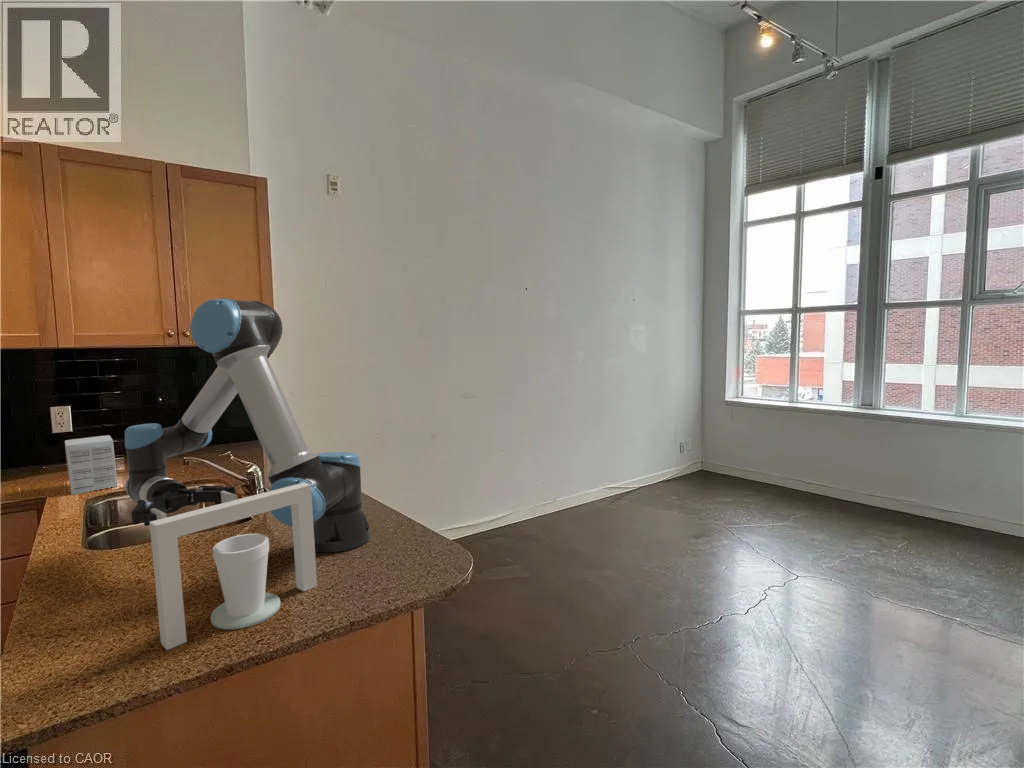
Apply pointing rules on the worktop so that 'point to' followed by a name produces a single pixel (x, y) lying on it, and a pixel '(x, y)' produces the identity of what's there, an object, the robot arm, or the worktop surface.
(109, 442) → the supplement box
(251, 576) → the foam cup
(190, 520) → the keeper arch
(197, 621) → the worktop surface
